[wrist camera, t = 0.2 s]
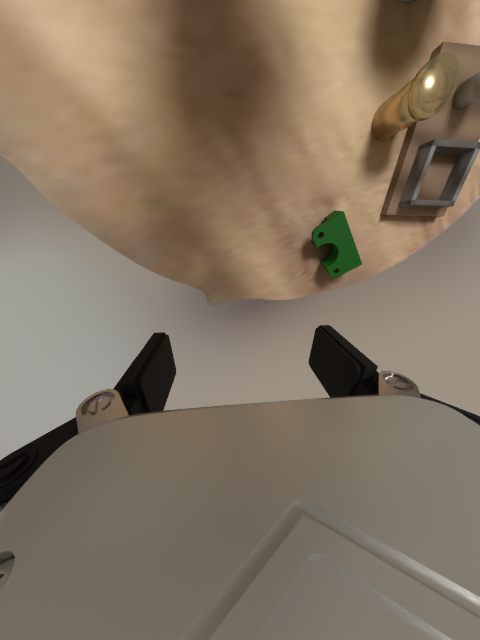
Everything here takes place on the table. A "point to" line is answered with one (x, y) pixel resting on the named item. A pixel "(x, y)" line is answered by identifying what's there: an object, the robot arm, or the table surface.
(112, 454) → the robot arm
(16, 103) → the table surface
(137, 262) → the table surface
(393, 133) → the brass door knob
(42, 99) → the table surface
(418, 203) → the fitting board
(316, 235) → the clamp
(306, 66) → the table surface
